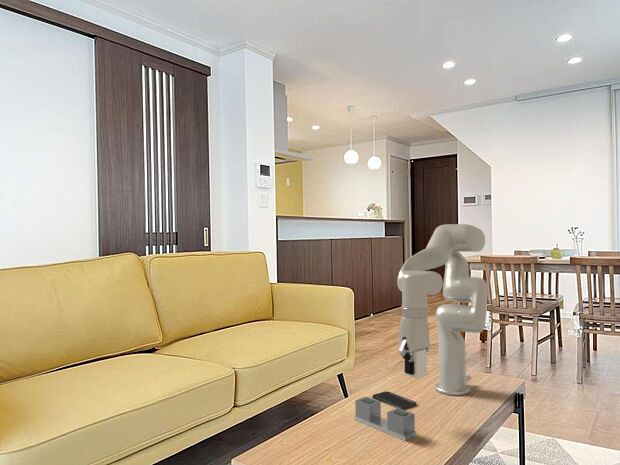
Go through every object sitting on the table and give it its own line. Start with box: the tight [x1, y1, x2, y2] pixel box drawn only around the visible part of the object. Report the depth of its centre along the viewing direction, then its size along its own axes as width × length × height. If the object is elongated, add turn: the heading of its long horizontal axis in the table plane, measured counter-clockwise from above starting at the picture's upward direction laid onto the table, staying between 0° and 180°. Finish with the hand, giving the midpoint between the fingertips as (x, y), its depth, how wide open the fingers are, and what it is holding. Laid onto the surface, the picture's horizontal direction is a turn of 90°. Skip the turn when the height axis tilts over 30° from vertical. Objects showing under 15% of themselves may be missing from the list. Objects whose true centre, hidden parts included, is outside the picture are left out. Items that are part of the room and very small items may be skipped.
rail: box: [354, 396, 417, 442], centre depth 140 cm, size 5×20×6 cm, turn 40°
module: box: [403, 348, 428, 379], centre depth 143 cm, size 5×5×8 cm
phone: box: [371, 391, 418, 411], centre depth 161 cm, size 8×1×15 cm
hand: (415, 371), depth 143 cm, fingers closed on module, 5 cm apart
